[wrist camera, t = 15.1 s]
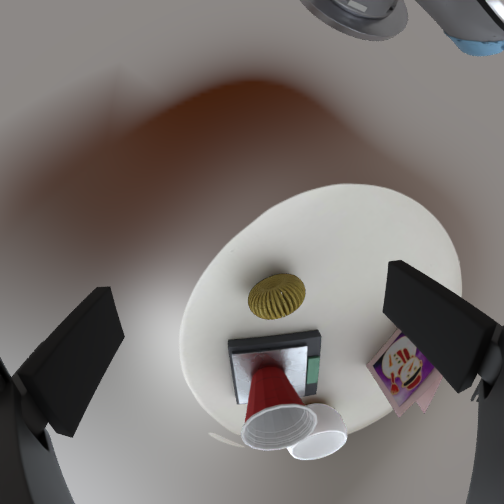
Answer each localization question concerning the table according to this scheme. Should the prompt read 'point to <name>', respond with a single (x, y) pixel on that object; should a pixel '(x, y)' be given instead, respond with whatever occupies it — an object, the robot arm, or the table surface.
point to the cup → (322, 435)
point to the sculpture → (276, 296)
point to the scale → (276, 360)
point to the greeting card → (404, 374)
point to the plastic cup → (275, 412)
